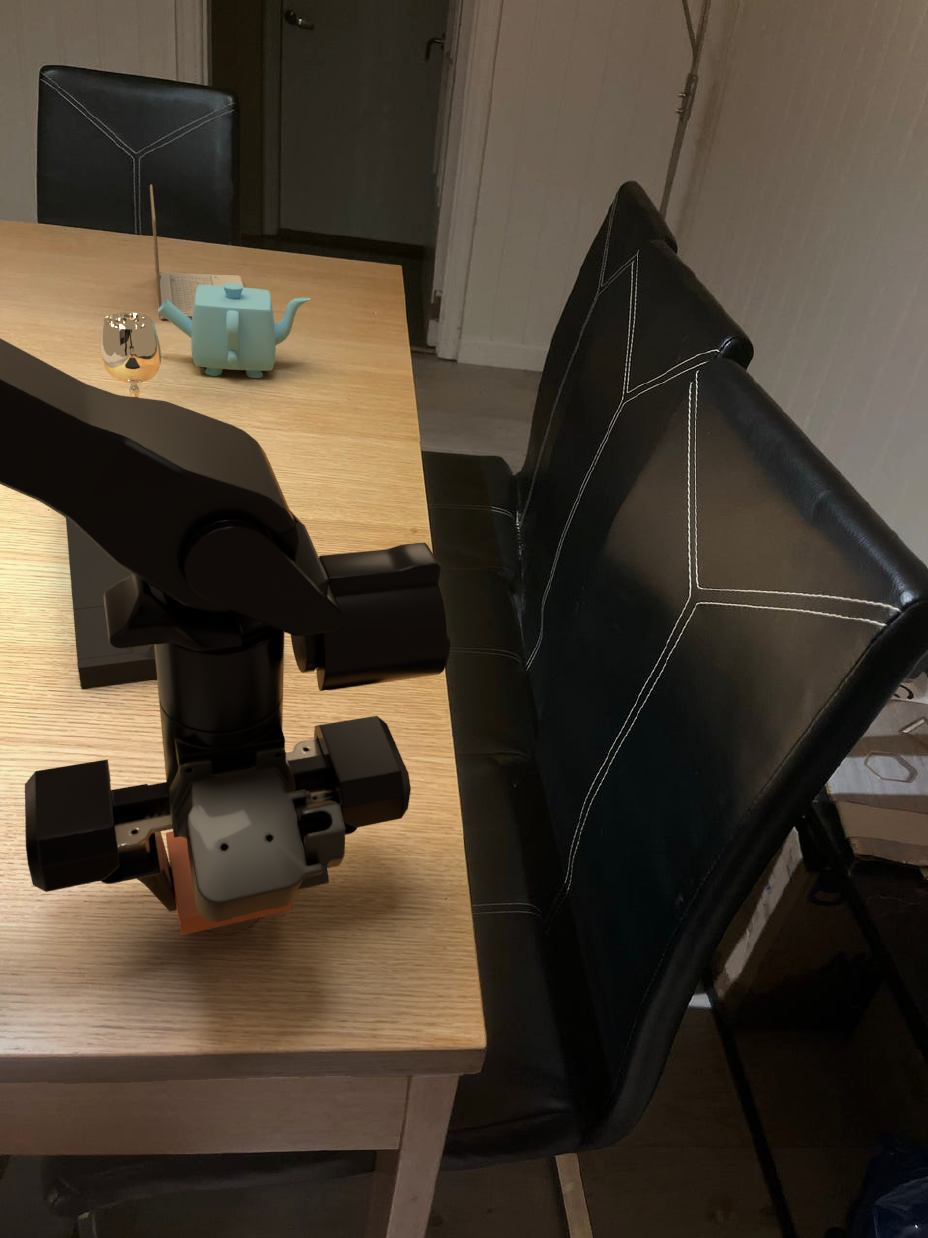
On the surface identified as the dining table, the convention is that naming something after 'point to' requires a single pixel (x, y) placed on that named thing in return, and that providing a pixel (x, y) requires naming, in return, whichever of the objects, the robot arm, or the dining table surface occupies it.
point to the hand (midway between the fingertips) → (228, 892)
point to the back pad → (100, 618)
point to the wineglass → (130, 348)
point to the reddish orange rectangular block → (186, 898)
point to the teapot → (233, 328)
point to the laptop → (182, 280)
